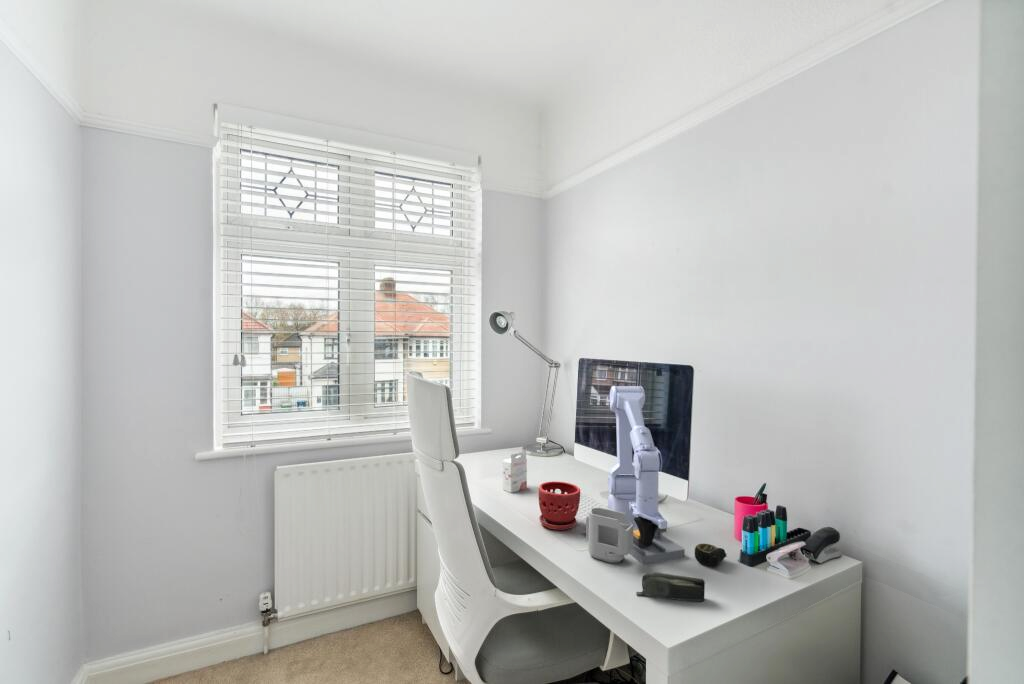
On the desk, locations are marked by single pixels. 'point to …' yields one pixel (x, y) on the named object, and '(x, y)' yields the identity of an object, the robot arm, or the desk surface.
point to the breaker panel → (657, 550)
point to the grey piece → (609, 534)
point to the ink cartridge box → (515, 473)
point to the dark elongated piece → (673, 587)
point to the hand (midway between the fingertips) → (646, 545)
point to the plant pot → (558, 505)
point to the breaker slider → (637, 539)
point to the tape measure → (709, 554)
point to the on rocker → (660, 530)
